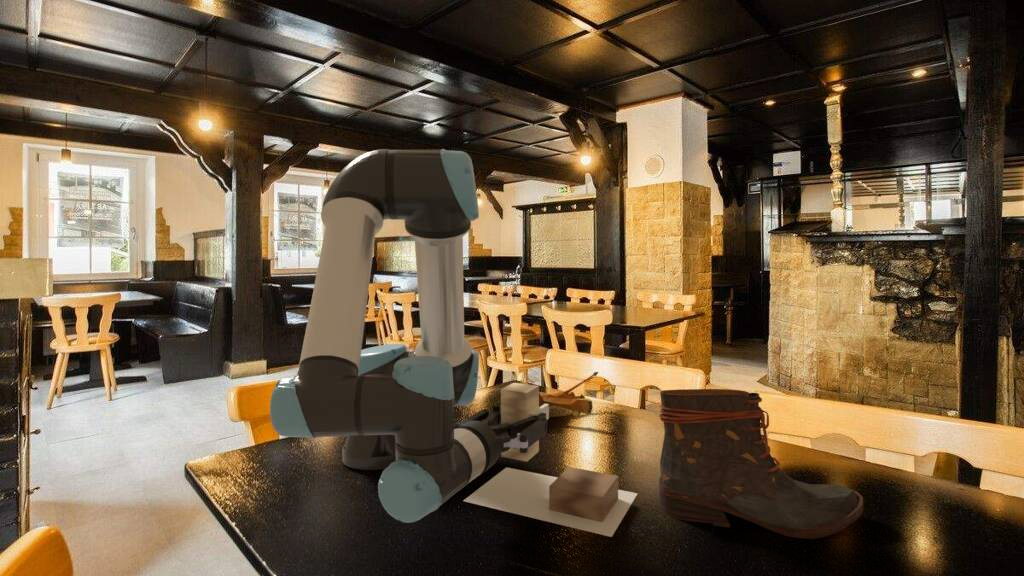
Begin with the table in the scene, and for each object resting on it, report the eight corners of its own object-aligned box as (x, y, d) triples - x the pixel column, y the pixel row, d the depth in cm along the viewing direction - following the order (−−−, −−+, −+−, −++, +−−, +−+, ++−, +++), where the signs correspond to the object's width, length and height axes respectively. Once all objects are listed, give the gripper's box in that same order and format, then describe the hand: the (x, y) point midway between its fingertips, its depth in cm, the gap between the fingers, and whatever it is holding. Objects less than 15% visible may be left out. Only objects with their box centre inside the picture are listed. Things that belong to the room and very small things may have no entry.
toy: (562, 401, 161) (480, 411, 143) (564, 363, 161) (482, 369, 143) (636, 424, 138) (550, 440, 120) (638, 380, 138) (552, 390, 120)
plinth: (549, 510, 86) (549, 486, 86) (568, 488, 94) (568, 466, 94) (602, 522, 82) (602, 497, 82) (618, 498, 90) (618, 475, 90)
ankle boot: (882, 544, 76) (887, 408, 75) (663, 529, 81) (664, 401, 80) (845, 507, 88) (848, 389, 86) (654, 496, 92) (655, 383, 91)
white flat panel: (462, 502, 90) (462, 500, 90) (506, 469, 104) (506, 467, 104) (611, 539, 78) (611, 536, 78) (637, 495, 92) (637, 493, 92)
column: (501, 456, 92) (500, 389, 91) (514, 446, 97) (513, 382, 96) (526, 461, 90) (526, 392, 89) (538, 451, 94) (538, 385, 93)
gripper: (416, 466, 81) (490, 421, 102) (521, 490, 73) (578, 436, 94) (415, 418, 81) (490, 383, 101) (521, 437, 72) (579, 395, 93)
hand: (532, 408), depth 97 cm, fingers closed on column, 5 cm apart
